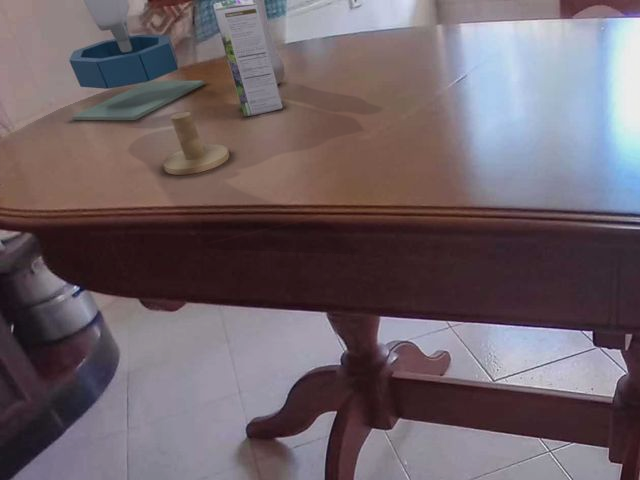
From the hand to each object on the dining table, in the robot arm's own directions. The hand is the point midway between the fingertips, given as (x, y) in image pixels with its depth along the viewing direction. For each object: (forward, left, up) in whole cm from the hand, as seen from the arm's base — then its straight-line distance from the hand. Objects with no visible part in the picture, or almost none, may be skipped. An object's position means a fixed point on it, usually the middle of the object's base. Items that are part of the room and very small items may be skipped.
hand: (127, 49), depth 116 cm
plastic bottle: (+20, -13, -7) cm, 25 cm away
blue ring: (0, -6, -2) cm, 7 cm away
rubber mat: (0, -7, -7) cm, 9 cm away
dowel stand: (+8, -43, -7) cm, 44 cm away
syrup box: (+18, -25, -7) cm, 31 cm away
